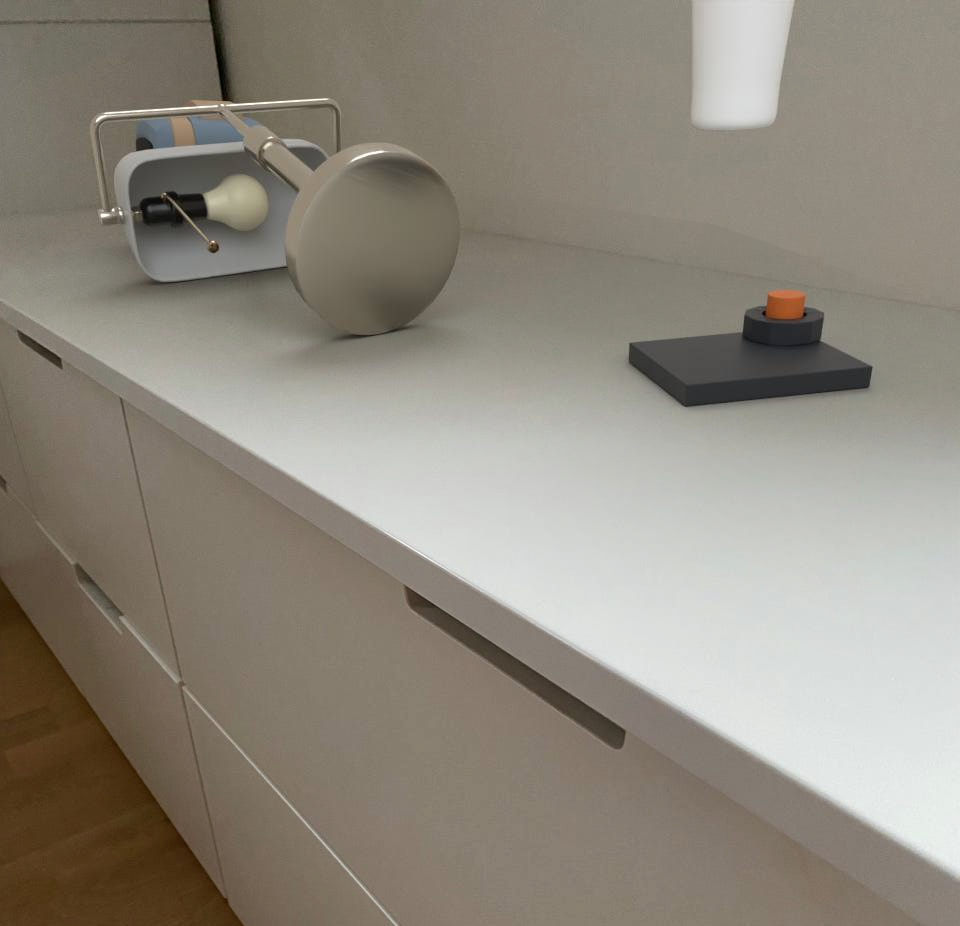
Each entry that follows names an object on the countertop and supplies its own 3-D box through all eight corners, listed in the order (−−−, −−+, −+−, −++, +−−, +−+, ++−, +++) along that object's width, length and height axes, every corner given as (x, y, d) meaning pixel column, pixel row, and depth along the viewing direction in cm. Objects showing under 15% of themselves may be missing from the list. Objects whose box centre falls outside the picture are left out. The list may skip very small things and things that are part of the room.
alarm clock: (146, 239, 129) (119, 101, 120) (268, 227, 134) (250, 94, 126) (168, 258, 116) (139, 105, 108) (302, 244, 121) (284, 97, 113)
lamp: (504, 393, 93) (326, 231, 117) (535, 137, 78) (323, 11, 101) (232, 453, 82) (96, 260, 106) (205, 167, 66) (53, 17, 90)
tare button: (791, 313, 72) (794, 288, 71) (809, 321, 70) (812, 295, 69) (759, 316, 72) (761, 291, 71) (775, 324, 70) (778, 298, 69)
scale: (796, 342, 75) (801, 302, 74) (880, 386, 65) (888, 340, 64) (624, 358, 73) (626, 317, 71) (685, 406, 63) (688, 359, 62)
